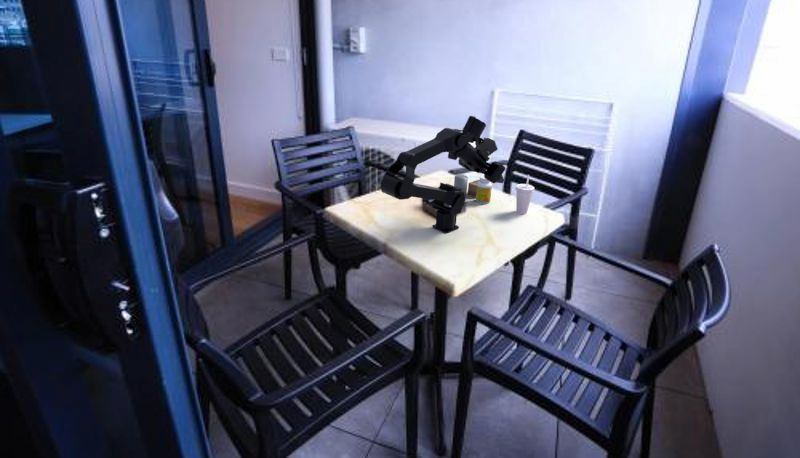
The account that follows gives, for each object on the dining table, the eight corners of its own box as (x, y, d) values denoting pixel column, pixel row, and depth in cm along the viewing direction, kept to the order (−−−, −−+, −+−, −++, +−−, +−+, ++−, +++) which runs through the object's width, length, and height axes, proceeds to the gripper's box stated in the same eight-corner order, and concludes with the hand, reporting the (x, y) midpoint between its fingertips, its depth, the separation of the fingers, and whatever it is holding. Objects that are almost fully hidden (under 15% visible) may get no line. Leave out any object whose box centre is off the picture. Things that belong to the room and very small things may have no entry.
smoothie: (532, 216, 167) (538, 178, 160) (514, 215, 167) (519, 177, 161) (528, 208, 172) (534, 172, 166) (510, 208, 172) (515, 171, 166)
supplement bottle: (474, 203, 176) (476, 178, 172) (477, 198, 181) (479, 174, 177) (488, 205, 175) (491, 180, 171) (491, 200, 179) (494, 175, 175)
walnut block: (477, 198, 181) (478, 186, 179) (467, 194, 184) (468, 182, 182) (487, 195, 184) (488, 183, 182) (477, 191, 188) (478, 179, 186)
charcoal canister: (460, 200, 179) (461, 180, 175) (450, 196, 182) (451, 176, 179) (468, 197, 182) (470, 177, 178) (459, 193, 185) (460, 173, 182)
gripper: (501, 140, 142) (527, 166, 152) (465, 126, 157) (491, 149, 167) (480, 171, 143) (507, 194, 153) (446, 153, 158) (472, 175, 168)
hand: (494, 177), depth 160 cm, fingers open, 9 cm apart
